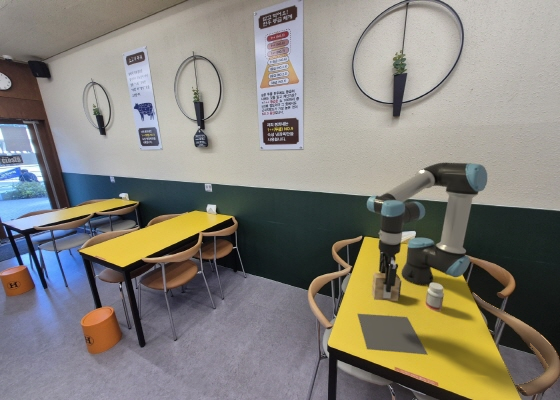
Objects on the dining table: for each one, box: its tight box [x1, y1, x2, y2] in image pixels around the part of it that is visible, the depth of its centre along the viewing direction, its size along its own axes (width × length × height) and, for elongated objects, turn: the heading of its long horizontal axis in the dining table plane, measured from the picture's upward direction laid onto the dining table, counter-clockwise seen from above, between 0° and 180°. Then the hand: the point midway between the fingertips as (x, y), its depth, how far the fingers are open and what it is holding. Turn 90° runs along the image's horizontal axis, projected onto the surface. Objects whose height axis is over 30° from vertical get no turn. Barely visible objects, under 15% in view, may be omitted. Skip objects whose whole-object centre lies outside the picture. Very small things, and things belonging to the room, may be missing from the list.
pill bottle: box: [425, 282, 445, 312], centre depth 101 cm, size 6×6×11 cm
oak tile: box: [371, 272, 401, 302], centre depth 89 cm, size 9×4×10 cm, turn 83°
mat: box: [357, 313, 428, 355], centre depth 89 cm, size 21×18×1 cm
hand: (384, 294), depth 90 cm, fingers closed on oak tile, 4 cm apart
